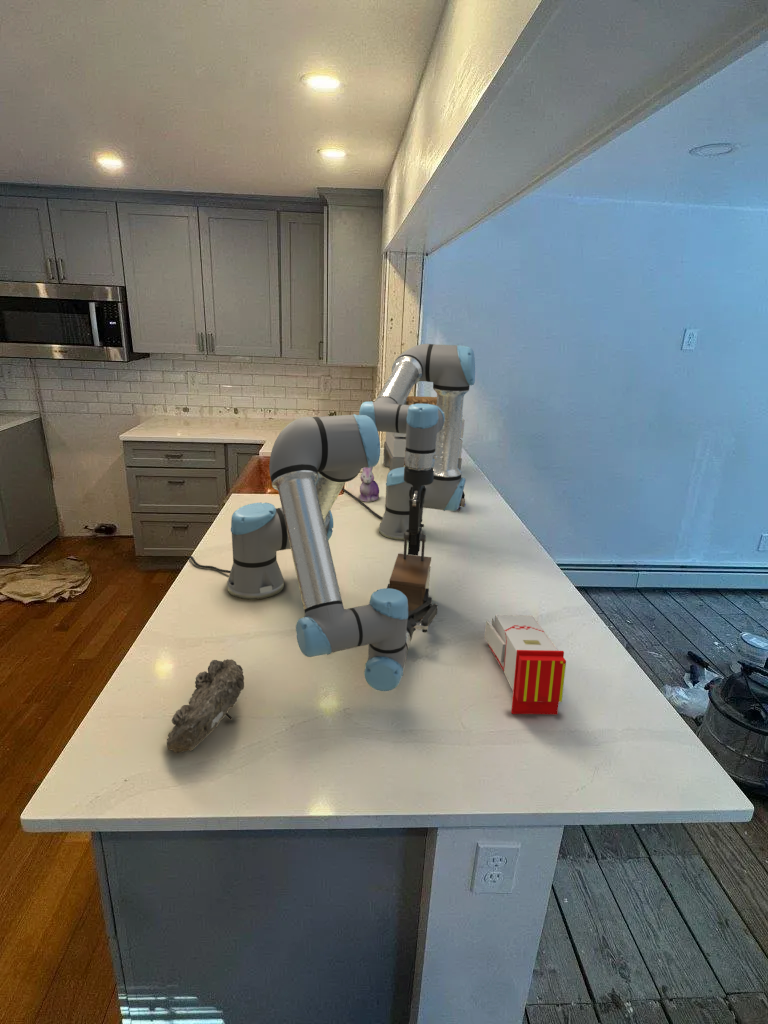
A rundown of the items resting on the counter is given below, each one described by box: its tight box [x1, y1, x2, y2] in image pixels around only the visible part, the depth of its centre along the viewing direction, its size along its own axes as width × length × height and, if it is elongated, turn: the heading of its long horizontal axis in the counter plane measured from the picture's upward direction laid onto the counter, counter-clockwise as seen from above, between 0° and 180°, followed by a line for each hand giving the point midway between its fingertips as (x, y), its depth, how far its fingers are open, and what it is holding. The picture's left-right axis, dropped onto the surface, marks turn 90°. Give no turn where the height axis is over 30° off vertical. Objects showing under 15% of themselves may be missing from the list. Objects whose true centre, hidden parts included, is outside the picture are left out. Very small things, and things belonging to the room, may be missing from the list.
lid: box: [388, 532, 432, 587], centre depth 146 cm, size 14×9×9 cm, turn 170°
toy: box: [484, 614, 567, 716], centre depth 124 cm, size 12×13×30 cm
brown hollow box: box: [388, 565, 432, 622], centre depth 150 cm, size 13×9×10 cm
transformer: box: [383, 395, 465, 472], centre depth 268 cm, size 34×33×41 cm
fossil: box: [166, 658, 245, 754], centre depth 106 cm, size 22×10×15 cm
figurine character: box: [457, 490, 466, 511], centre depth 229 cm, size 7×8×15 cm
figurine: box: [358, 467, 380, 503], centre depth 232 cm, size 9×10×15 cm
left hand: (408, 590), depth 146 cm, fingers closed on brown hollow box, 9 cm apart
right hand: (413, 552), depth 150 cm, fingers closed on lid, 2 cm apart
